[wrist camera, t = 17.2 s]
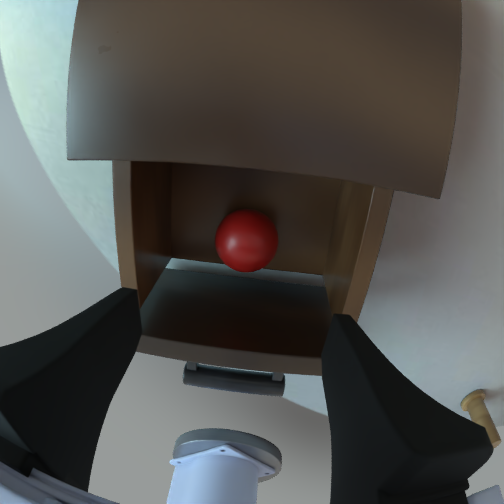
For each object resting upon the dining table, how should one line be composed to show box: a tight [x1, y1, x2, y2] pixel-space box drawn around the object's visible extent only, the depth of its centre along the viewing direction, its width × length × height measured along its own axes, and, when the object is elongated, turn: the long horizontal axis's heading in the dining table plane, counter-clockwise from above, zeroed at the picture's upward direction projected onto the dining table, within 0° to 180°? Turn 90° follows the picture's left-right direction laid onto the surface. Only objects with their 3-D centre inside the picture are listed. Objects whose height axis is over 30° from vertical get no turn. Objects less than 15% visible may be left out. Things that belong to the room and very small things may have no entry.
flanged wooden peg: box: [461, 390, 501, 448], centre depth 22 cm, size 3×3×7 cm
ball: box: [215, 209, 279, 272], centre depth 15 cm, size 3×3×3 cm
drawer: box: [112, 160, 394, 396], centre depth 15 cm, size 17×11×6 cm, turn 175°
